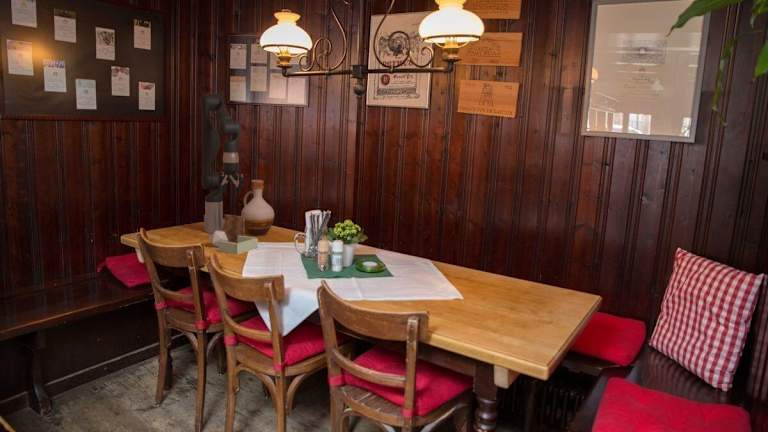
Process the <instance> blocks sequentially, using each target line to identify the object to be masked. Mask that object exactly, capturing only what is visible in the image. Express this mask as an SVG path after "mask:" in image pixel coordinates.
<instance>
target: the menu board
mask: <svg viewBox="0 0 768 432" xmlns="http://www.w3.org/2000/svg"><path fill="white" fill-rule="evenodd" d="M245 231H246V228H245V217H242V216H241V215H232V214H226V213H225V214H224V232H225V234H226V236H227V239H228V242H231V243H238V236H239V235H240V236H246V234H245V233H246V232H245Z"/></svg>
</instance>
